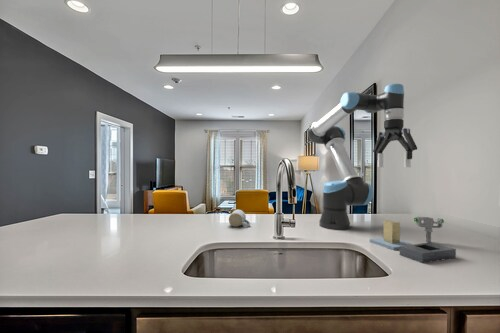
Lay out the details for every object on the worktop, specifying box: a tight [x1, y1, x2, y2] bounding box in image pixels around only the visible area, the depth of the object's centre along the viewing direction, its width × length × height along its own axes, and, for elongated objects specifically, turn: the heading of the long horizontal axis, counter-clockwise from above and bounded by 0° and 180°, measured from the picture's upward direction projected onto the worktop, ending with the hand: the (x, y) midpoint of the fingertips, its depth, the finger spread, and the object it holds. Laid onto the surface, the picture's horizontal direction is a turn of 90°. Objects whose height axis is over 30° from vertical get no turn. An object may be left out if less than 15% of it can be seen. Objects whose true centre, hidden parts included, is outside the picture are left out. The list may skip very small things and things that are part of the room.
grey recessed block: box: [399, 241, 457, 264], centre depth 86 cm, size 8×16×3 cm, turn 110°
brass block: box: [382, 219, 401, 244], centre depth 99 cm, size 4×4×8 cm
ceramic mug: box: [228, 209, 251, 228], centre depth 127 cm, size 11×8×8 cm
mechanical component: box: [413, 216, 445, 243], centre depth 103 cm, size 3×10×10 cm, turn 78°
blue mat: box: [369, 237, 414, 251], centre depth 99 cm, size 11×11×1 cm
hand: (393, 167), depth 111 cm, fingers open, 13 cm apart
